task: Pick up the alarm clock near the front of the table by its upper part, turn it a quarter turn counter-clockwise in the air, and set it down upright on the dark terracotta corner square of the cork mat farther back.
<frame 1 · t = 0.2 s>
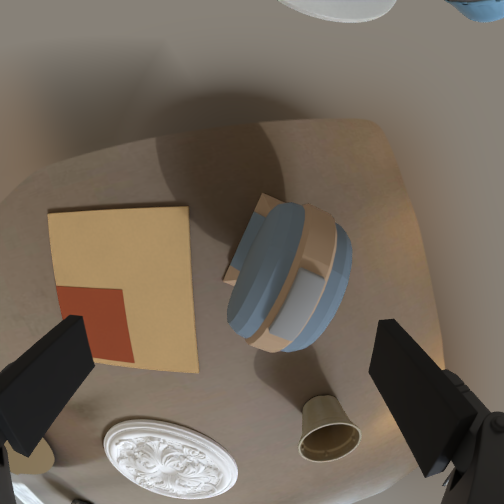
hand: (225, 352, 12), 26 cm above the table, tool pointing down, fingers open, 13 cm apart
ceiling medallion: (169, 464, 48), on the table
mat: (118, 294, 40), on the table
alarm clock: (277, 253, 39), on the table
flower pot: (320, 406, 44), on the table
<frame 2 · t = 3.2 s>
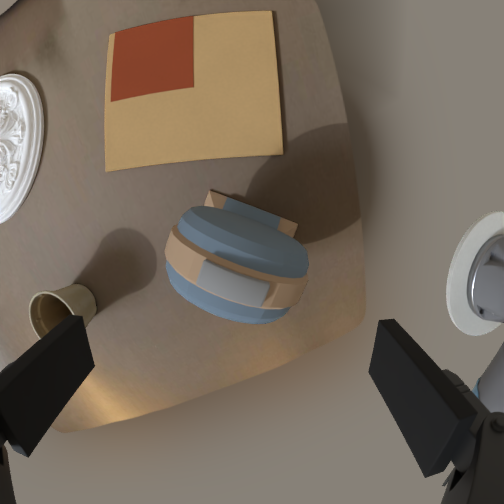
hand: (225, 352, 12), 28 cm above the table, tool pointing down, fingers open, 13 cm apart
mat: (186, 82, 35), on the table
alarm clock: (240, 241, 40), on the table
flower pot: (81, 301, 42), on the table
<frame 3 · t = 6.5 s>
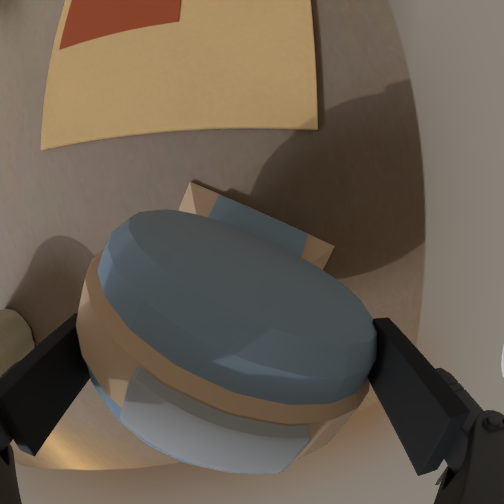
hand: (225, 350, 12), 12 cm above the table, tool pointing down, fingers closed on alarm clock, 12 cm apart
mat: (169, 17, 19), on the table
alarm clock: (238, 269, 24), on the table, touching gripper
flower pot: (17, 331, 26), on the table
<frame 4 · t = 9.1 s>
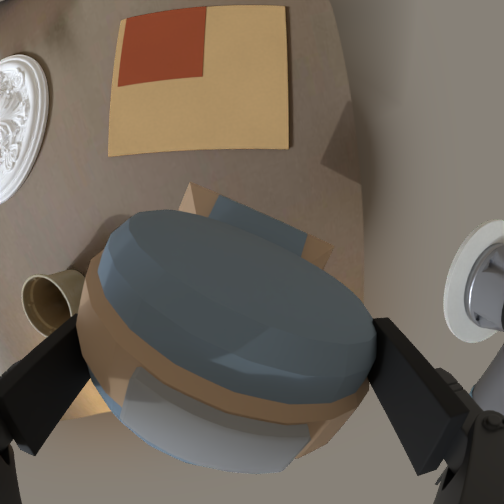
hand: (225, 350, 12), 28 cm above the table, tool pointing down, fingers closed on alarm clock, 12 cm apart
mat: (195, 72, 34), on the table
alarm clock: (238, 269, 24), point 15 cm above the table, touching gripper
flower pot: (75, 287, 41), on the table
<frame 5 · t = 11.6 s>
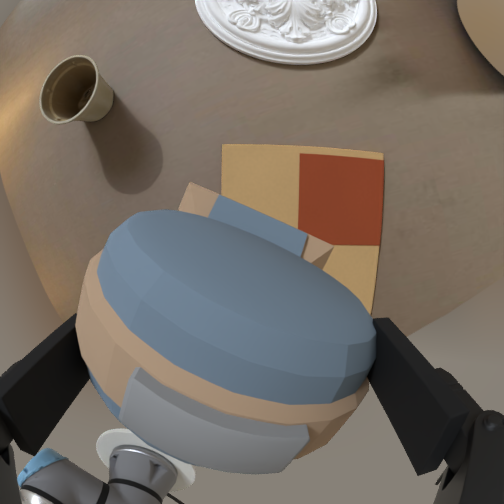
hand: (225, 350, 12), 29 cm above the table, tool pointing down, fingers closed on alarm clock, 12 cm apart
mat: (304, 236, 41), on the table
alarm clock: (238, 269, 24), point 17 cm above the table, touching gripper
flower pot: (97, 102, 36), on the table
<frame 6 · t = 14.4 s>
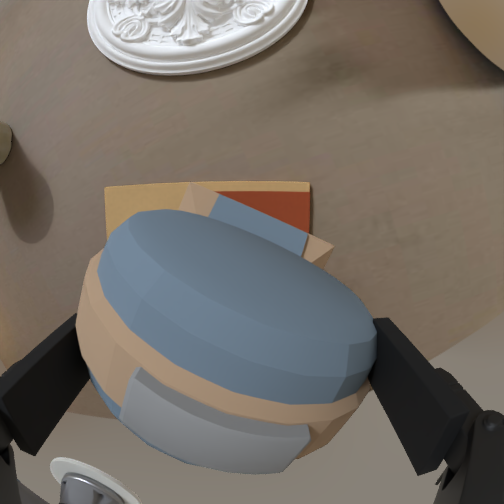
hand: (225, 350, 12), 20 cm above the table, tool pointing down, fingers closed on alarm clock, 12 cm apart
mat: (205, 293, 33), on the table
alarm clock: (238, 269, 24), point 8 cm above the table, touching gripper
flower pot: (1, 144, 29), on the table
when the fingers open (13 cm above the table, at t = 16.9 s): alarm clock stays where it is, resting on mat.
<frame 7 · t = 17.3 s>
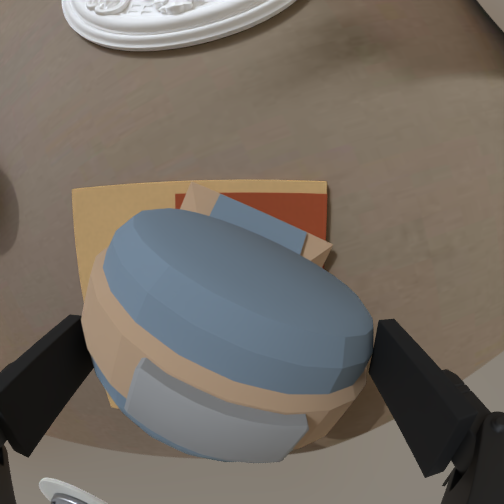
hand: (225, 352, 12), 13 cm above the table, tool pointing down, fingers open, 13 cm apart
mat: (194, 319, 26), on the table
alarm clock: (238, 267, 25), point 1 cm above the table, touching mat
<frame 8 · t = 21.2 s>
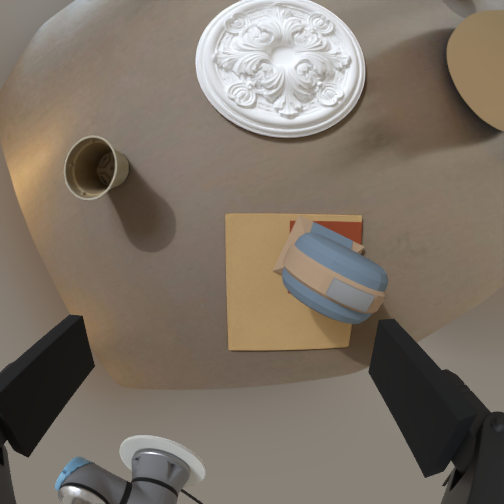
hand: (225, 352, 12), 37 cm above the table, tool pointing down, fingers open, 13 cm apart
ceiling medallion: (282, 59, 42), on the table
mat: (293, 286, 50), on the table
alarm clock: (319, 257, 48), point 1 cm above the table, touching mat
flower pot: (114, 169, 46), on the table
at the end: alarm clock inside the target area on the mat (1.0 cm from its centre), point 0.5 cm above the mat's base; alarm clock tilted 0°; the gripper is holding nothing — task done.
